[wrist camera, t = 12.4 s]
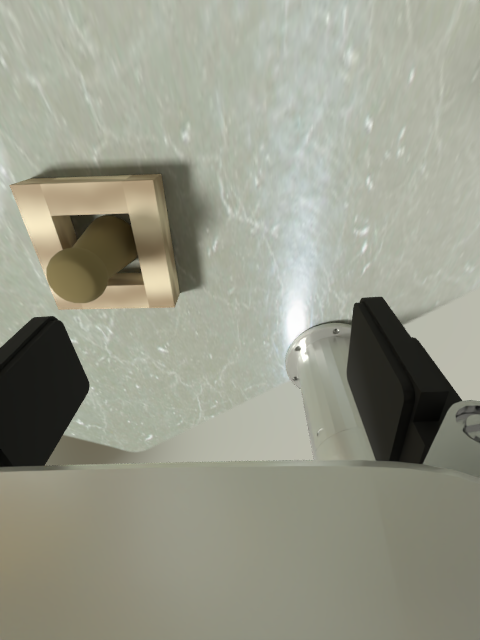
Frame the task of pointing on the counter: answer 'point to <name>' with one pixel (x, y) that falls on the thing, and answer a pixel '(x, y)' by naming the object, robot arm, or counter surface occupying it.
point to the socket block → (105, 198)
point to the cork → (92, 260)
